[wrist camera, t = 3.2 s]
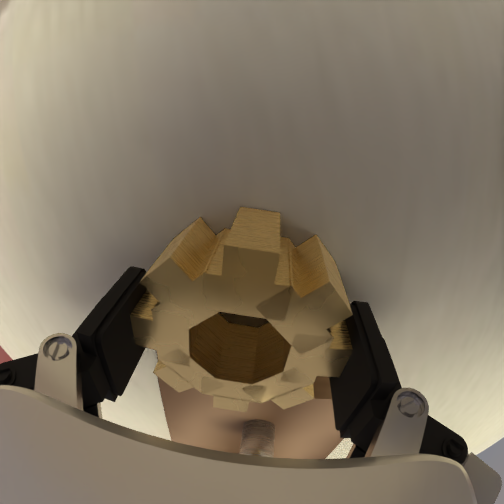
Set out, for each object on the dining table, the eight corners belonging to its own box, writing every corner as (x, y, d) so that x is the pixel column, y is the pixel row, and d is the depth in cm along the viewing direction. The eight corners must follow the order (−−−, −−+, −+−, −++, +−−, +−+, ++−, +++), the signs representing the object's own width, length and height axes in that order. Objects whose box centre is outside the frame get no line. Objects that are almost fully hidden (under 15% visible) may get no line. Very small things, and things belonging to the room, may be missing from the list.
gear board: (369, 378, 13) (374, 399, 12) (298, 472, 20) (297, 485, 19) (165, 352, 14) (156, 373, 12) (183, 457, 21) (180, 470, 19)
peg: (277, 421, 13) (272, 510, 8) (272, 434, 14) (266, 514, 9) (244, 417, 13) (232, 506, 8) (241, 431, 14) (230, 511, 9)
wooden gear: (360, 226, 10) (389, 270, 7) (312, 365, 13) (317, 418, 10) (160, 196, 10) (117, 229, 7) (166, 342, 13) (145, 390, 10)
